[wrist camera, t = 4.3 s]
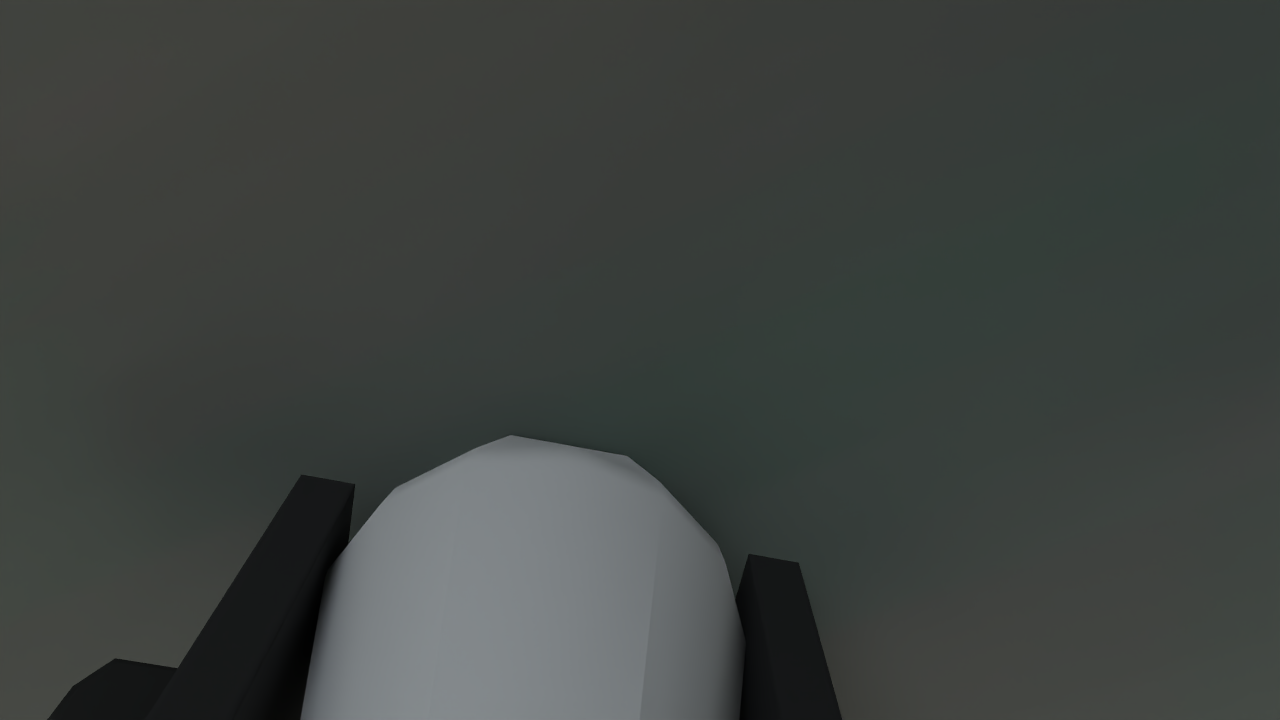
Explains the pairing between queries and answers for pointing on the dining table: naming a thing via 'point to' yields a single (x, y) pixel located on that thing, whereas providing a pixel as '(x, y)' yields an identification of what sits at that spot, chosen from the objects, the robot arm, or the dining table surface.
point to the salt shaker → (528, 598)
